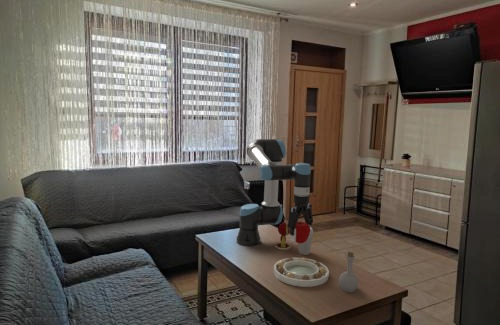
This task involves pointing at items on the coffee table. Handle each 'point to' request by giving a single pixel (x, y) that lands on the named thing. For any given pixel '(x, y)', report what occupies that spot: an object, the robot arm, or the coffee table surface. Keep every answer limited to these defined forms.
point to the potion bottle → (348, 276)
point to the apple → (302, 232)
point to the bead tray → (301, 272)
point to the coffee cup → (305, 245)
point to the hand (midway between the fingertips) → (299, 239)
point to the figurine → (283, 236)
